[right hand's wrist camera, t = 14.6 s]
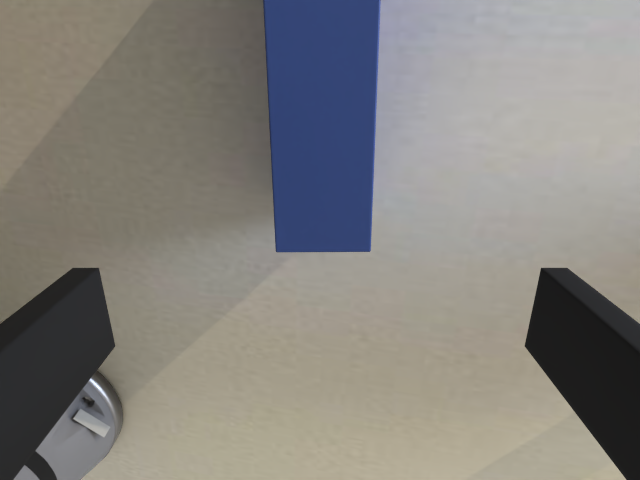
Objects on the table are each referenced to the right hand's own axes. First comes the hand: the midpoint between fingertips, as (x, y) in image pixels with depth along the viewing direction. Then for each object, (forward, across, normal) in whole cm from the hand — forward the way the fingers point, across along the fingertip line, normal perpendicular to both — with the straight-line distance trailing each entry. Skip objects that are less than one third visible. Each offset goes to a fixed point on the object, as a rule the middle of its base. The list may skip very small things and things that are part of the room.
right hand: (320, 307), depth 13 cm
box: (+24, 0, -9) cm, 25 cm away
